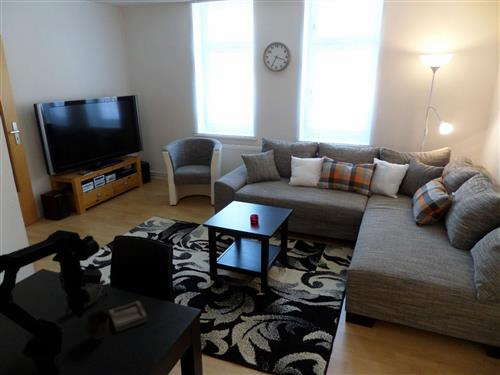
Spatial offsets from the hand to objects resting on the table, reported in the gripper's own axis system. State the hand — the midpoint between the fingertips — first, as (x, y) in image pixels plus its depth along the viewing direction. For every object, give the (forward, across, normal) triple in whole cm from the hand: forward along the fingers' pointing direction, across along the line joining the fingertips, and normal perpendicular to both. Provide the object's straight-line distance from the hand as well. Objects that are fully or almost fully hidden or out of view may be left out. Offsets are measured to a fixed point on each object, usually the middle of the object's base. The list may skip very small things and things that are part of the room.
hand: (77, 309), depth 112 cm
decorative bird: (+12, +18, -5) cm, 22 cm away
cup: (+12, -3, -5) cm, 13 cm away
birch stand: (+12, +2, -16) cm, 20 cm away
